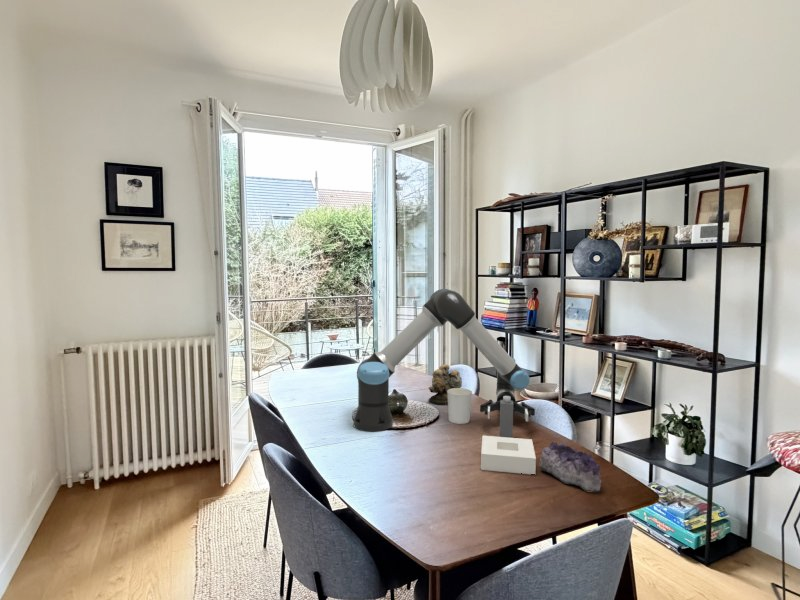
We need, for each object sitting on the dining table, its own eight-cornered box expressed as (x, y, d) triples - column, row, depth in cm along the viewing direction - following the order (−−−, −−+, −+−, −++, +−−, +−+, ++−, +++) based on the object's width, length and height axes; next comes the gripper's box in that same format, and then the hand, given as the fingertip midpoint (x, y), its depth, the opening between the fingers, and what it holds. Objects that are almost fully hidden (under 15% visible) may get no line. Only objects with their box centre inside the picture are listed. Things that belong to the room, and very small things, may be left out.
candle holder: (470, 425, 186) (471, 395, 185) (445, 423, 188) (445, 393, 187) (472, 417, 195) (472, 388, 194) (447, 415, 197) (448, 387, 196)
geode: (615, 488, 135) (615, 455, 133) (587, 502, 130) (586, 468, 128) (559, 459, 153) (558, 429, 151) (533, 471, 147) (531, 440, 146)
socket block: (480, 469, 145) (481, 453, 145) (482, 449, 161) (482, 435, 161) (535, 474, 142) (535, 458, 142) (531, 454, 158) (531, 439, 158)
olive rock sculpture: (435, 407, 209) (436, 368, 208) (422, 400, 219) (422, 363, 218) (469, 402, 217) (470, 365, 216) (454, 396, 228) (455, 360, 226)
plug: (499, 439, 171) (500, 398, 170) (499, 434, 176) (500, 394, 175) (512, 440, 171) (513, 398, 169) (511, 435, 175) (513, 395, 174)
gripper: (537, 411, 193) (543, 429, 172) (474, 407, 197) (472, 424, 176) (538, 393, 192) (543, 408, 171) (475, 389, 197) (473, 404, 176)
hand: (507, 416), depth 174 cm, fingers open, 13 cm apart
